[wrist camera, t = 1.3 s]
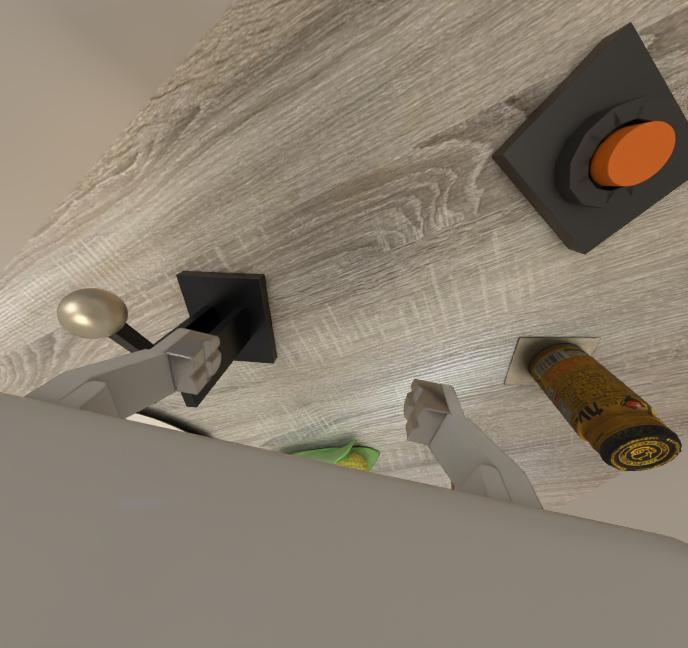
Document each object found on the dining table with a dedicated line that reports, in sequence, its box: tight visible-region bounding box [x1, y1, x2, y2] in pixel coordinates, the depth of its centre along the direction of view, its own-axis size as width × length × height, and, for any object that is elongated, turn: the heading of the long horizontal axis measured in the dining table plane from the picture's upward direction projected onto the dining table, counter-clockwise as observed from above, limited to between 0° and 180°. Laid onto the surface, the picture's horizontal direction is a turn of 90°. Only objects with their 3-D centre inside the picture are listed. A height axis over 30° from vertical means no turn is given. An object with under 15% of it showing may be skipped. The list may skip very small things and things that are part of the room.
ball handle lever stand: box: [153, 271, 277, 407], centre depth 27 cm, size 12×10×13 cm
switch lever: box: [57, 288, 154, 353], centre depth 20 cm, size 12×3×3 cm, turn 0°
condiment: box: [505, 338, 682, 471], centre depth 26 cm, size 7×8×12 cm
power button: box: [590, 121, 675, 186], centre depth 18 cm, size 4×4×2 cm
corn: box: [290, 439, 380, 472], centre depth 42 cm, size 8×8×20 cm
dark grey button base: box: [492, 22, 688, 254], centre depth 20 cm, size 12×9×4 cm
